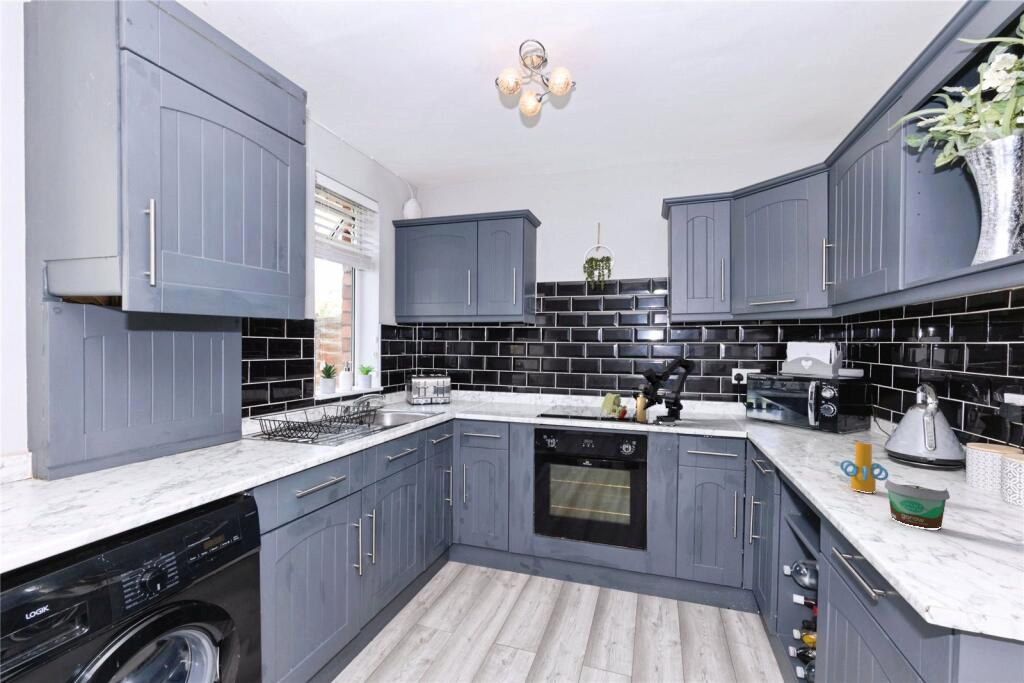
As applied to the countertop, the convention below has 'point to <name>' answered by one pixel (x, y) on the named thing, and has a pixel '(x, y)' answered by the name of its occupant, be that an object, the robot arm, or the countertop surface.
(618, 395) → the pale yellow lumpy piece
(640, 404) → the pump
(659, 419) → the motor
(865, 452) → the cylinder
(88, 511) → the countertop surface
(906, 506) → the food container
